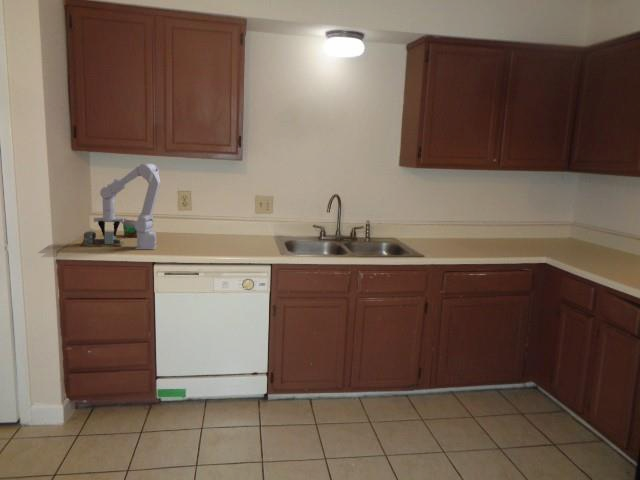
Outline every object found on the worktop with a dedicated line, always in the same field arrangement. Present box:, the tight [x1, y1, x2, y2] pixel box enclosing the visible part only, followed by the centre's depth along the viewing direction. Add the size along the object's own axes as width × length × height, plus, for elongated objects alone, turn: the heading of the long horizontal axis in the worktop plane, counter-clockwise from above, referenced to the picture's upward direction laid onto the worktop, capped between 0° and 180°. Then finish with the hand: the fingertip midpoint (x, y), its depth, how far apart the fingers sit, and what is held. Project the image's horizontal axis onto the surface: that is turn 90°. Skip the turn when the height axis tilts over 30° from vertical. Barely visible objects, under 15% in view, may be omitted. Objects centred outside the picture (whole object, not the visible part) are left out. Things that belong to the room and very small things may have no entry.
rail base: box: [79, 230, 125, 248], centre depth 258 cm, size 20×8×6 cm, turn 102°
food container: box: [121, 217, 137, 239], centre depth 280 cm, size 12×6×10 cm, turn 62°
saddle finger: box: [103, 231, 116, 244], centre depth 258 cm, size 4×6×6 cm
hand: (109, 235), depth 258 cm, fingers open, 5 cm apart
